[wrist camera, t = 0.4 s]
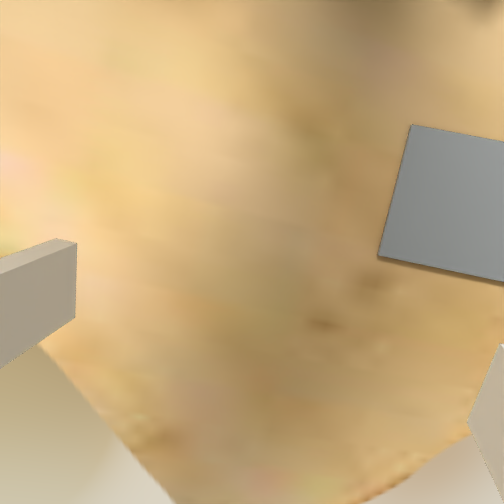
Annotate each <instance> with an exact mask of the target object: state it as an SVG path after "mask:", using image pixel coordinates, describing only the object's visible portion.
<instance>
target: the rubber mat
mask: <svg viewBox="0 0 504 504" xmlns="http://www.w3.org/2000/svg"><path fill="white" fill-rule="evenodd" d="M377 255H379V256H384V257H389V258H393V259H398V260H403V261H407V262H412V263H417V264H422V265H426V266H431V267H436V268H441V269H445V270H450V271H455V272H460V273H464V274H469V275H474V276H478V277H483V278H488V279H493V280H497V281H502V282H504V142H503V141H497V140H492V139H487V138H481V137H476V136H471V135H465V134H460V133H455V132H450V131H444V130H439V129H434V128H428V127H423V126H418V125H413V124H412V125H410V129H409V133H408V137H407V141H406V145H405V149H404V153H403V157H402V161H401V165H400V168H399V172H398V176H397V180H396V184H395V188H394V192H393V196H392V200H391V204H390V208H389V211H388V215H387V219H386V223H385V227H384V231H383V235H382V239H381V243H380V247H379V250H378V254H377Z"/></svg>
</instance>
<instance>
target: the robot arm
mask: <svg viewBox="0 0 504 504" xmlns="http://www.w3.org/2000/svg"><path fill="white" fill-rule="evenodd" d="M76 267H77V243H74V242H70V241H65V240H61V239H57V238H56V239H53V240H50V241H47V242H45V243H42V244H39V245H36V246H33V247H31V248H28V249H25V250H22V251H19V252H16V253H14V254H11V255H8V256H5V257H2V258H0V369H1V368H2V367H4V366H5V365H6V364H8V363H9V362H11V361H12V360H14V359H15V358H17V357H18V356H20V355H21V354H23V353H24V352H25V351H27V350H28V349H30V348H31V347H33V346H34V345H36V344H37V343H39V342H40V341H42V340H43V339H44V338H46V337H47V336H49V335H50V334H52V333H53V332H55V331H56V330H58V329H59V328H61V327H62V326H63V325H65V324H66V323H68V322H69V321H71V320H72V319H74V318H75V304H76ZM467 424H468V426H469V428H470V431H471V433H472V435H473V437H474V439H475V441H476V444H477V446H478V448H479V450H480V452H481V454H482V456H483V459H484V461H485V463H486V465H487V467H488V469H489V472H490V474H491V476H492V478H493V480H494V482H495V484H496V487H497V489H498V491H499V493H500V495H501V498H502V500H503V502H504V344H501V343H499V345H498V348H497V350H496V353H495V355H494V358H493V360H492V362H491V365H490V367H489V370H488V372H487V374H486V377H485V379H484V382H483V384H482V386H481V389H480V391H479V394H478V396H477V398H476V401H475V403H474V406H473V408H472V411H471V413H470V415H469V418H468V420H467Z"/></svg>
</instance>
